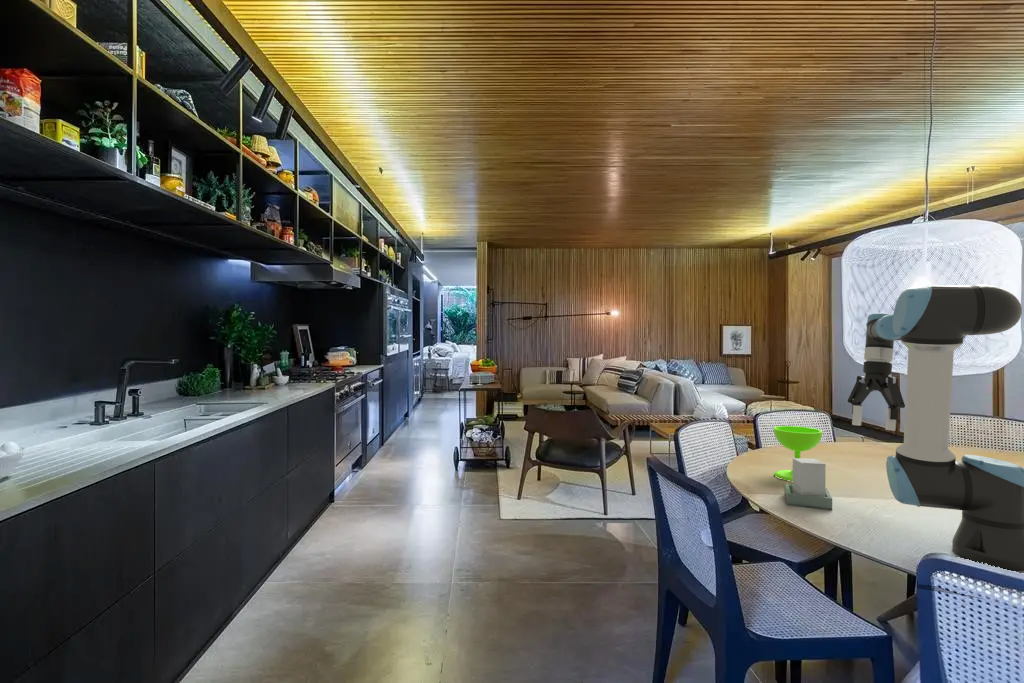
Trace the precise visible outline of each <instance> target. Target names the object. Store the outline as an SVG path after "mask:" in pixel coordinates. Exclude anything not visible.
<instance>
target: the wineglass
mask: <svg viewBox="0 0 1024 683" xmlns="http://www.w3.org/2000/svg"><path fill="white" fill-rule="evenodd" d="M773 432H774V436H775V438H776V440H777V441H778V442H779V443H780V445H782V446H783V447H784V448H786V449H788V450H791V451H793V452H794V458H801V452H805V451H806V452H807V451H810V450H811V449H813V448H815V447H816V446H817V445H818V444H819V443H820V441H821V440H822V436H823V430H821V429H818V428H814V427H807V426H797V425H796V426H795V425H778V426H774V427H773ZM773 475H775V476H777V477H779V478H782V479H785V480H790V481H793V469H780V470H777V471H775V472H774V473H773Z"/></svg>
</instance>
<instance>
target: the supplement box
mask: <svg viewBox="0 0 1024 683" xmlns="http://www.w3.org/2000/svg"><path fill="white" fill-rule="evenodd" d="M792 470H793V482H792V485H793V492H792V493H793V494H802V495H811V496H820V497H825V488H826V463H824V462H822V461H820V460H818V459H817V458H801V457H800V458H795V457H793V458H792Z"/></svg>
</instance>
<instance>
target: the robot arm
mask: <svg viewBox="0 0 1024 683" xmlns="http://www.w3.org/2000/svg"><path fill="white" fill-rule="evenodd" d="M1022 311H1023V306H1022V304H1021V302H1020V300H1019V299H1018V297H1017V296H1015V295H1014V294H1013V293H1011V292H1010V291H1008V290H1007V289H1004V288H1001V287H999V286H994V285H989V284H972V285H970V284H969V285H968V284H966V285H964V284H963V285H962V284H961V285H923V286H913V287H908V288H906V289H904V290H903V291H902V292H901V293H900V294H899V296H898V298H897V300H896V303H895V305H894V309H893V313H885V312H875V313H870V314H868V315H867V320H866V321H867V322H866V323H865V324H866V325H865V326H866V333H865V334H866V335H865V344H864V345H865V346H864V353H863V354H864V355H863V356H864V357H863V359H864V362H863V368H862V369H863V370H862V372H863V373H865V375H864V376H863V375H857V377H856V380H855V381H856V382H855V384H854V386H853V388H852V390H851V393H850V394H849V397H848V399H847V402H848V403H850V404H851V405H852V407H851V408H852V409H851V414H852V421H851V425H852V426H862V421H863V407H864V406H863V403H864V401H865V400H866V399H867V398H868V396H869V395H870V393H872V392H875V391H876V392H877V391H878V392H880V394H881V395H882V397H883V399H884V400H885V402H886V404H887V406H888V408H886V416H885V426H884V428H885V431H892V432H895V431H896V428H897V420H898V417H899V410H900V409H904V408H905V410H904V411H905V414H904V430H903V432H904V434H903V443H901V444H900V445H898V446H896V449H895V455H893V454H892V455H889V456H887V458H886V462H885V463H886V464H885V467H886V475H887V480H888V485H889V488H890V490H891V493H892V496H893V497H894V499H895V500H896V501H897V502H898V503H900V504H903V505H909V506H914V507H915V506H916V507H918V508H921V507H923V508H924V507H925V508H936V509H942V510H943V509H946V510H955V511H961V521H960V522H959V524H958V527H957V529H956V531H955V534H954V536H953V538H952V541H951V542H952V544H951V545H952V548H951V549H952V551H953V552H954V553H956V554H957V555H958V556H960V557H962V558H965V559H967V558H968V559H967V560H969V559H971V560H970V561H972V560H974V561H973V562H975V561H978V562H983V563H987V564H990V565H994V566H999V567H1002V568H1001V569H1004V568H1006V569H1005V570H1012V571H1024V467H1022V466H1021V465H1018V464H1016V463H1013V462H1009V461H1005V460H1002V459H997V458H992V457H988V456H987V457H986V456H982V455H975V454H963V455H962V457H961V460H956V458H957V457H956V454H954V452H953V451H951V450H950V449H949V439H950V438H949V437H950V419H951V404H952V403H951V402H952V388H953V386H952V385H953V370H954V369H953V368H954V356H955V354H954V352H955V350H957V349H958V348H959V347H961V346H962V345H963V343H964V340H965V339H966V337H967V336H982V335H983V336H984V335H985V336H986V335H994V334H998V333H999V334H1000V333H1003V332H1006V331H1008V330H1010V329H1012V328H1013V327H1015V326H1016V324H1018V323H1019V321H1020V319H1021V317H1022V314H1023V312H1022ZM895 341H900V342H901V343H902V344H903V345H904V346H905V348H907V350H908V351H907V369H906V370H907V371H906V372H907V373H906V389H905V390H906V392H905V400H904V398H903V395H902V393H901V390H900V386H899V378H898V377H896V376H889V375H892V373H893V372H892V370H893V363H891V362H892V361H893V356H894V345H895V344H894V343H895ZM978 562H977V563H978ZM994 566H993V567H994Z"/></svg>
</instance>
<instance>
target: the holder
mask: <svg viewBox="0 0 1024 683" xmlns="http://www.w3.org/2000/svg"><path fill="white" fill-rule="evenodd" d="M792 492H793V484H787V483H785V484H784V496H786V497H785V500H786V505H787V506H793V507H802V508H811V509H819V510H828V511H833V497H832V495H831V493H830V491H829V489H828V488H827V487H825V497H820V496H811V495H802V494H793V493H792Z"/></svg>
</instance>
